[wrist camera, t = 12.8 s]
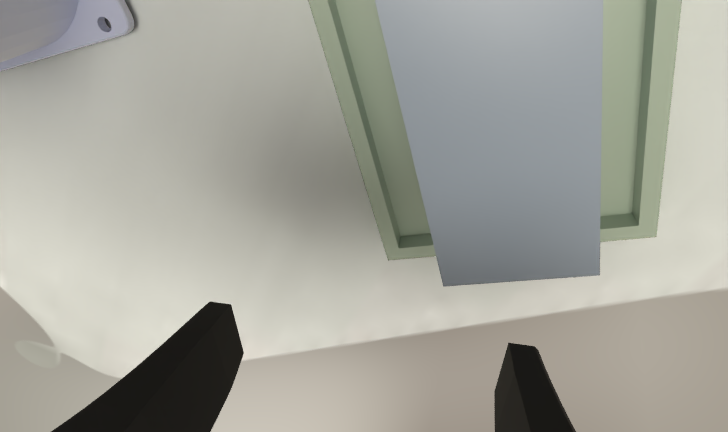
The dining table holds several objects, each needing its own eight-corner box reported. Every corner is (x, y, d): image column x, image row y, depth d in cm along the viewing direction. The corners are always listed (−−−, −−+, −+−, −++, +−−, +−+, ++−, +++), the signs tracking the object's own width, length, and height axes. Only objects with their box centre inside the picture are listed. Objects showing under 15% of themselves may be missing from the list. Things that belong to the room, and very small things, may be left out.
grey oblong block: (452, 195, 18) (448, 306, 13) (404, -52, 13) (369, -21, 8) (560, 181, 17) (599, 297, 12) (549, -97, 12) (604, -89, 7)
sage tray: (391, 242, 20) (388, 260, 19) (278, -140, 13) (264, -143, 12) (645, 218, 17) (656, 236, 16) (692, -302, 10) (716, -323, 9)
